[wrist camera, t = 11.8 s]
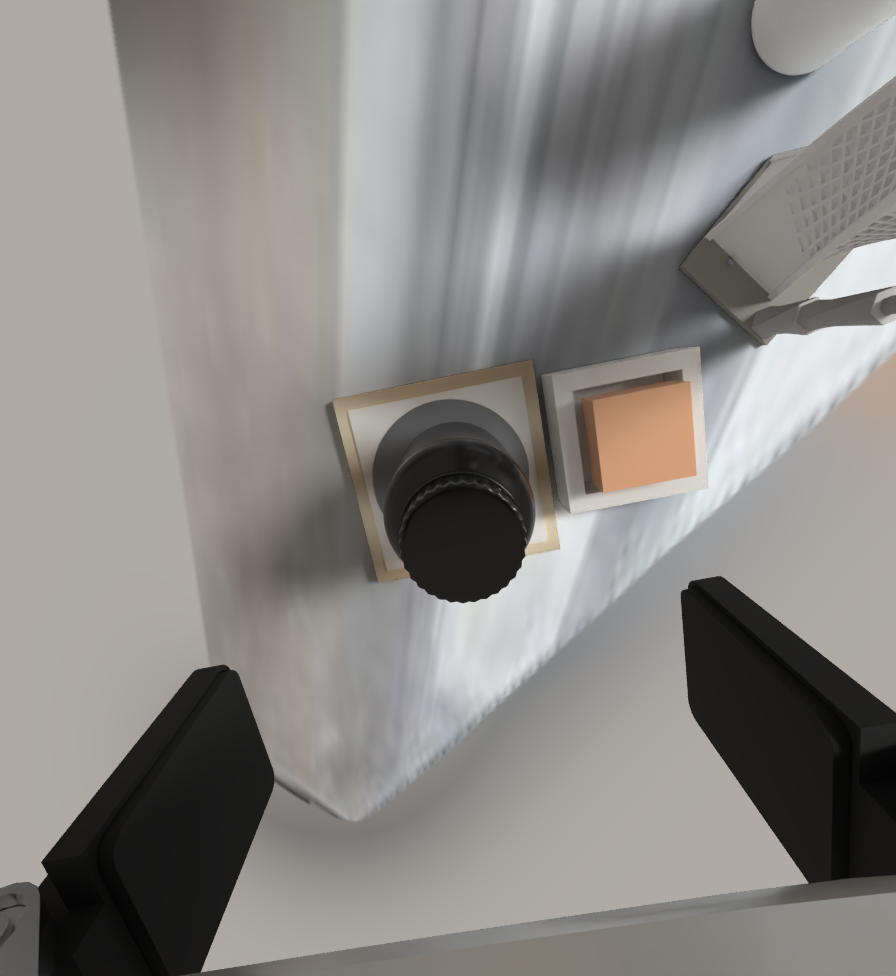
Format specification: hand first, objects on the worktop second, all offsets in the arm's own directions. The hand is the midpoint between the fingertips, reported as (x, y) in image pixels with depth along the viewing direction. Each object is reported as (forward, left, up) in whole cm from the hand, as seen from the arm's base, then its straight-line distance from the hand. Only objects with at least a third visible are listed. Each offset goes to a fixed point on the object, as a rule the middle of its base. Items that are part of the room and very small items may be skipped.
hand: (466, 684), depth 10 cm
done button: (-1, +10, -18) cm, 21 cm away
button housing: (-1, +10, -21) cm, 23 cm away
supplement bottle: (0, 0, -20) cm, 20 cm away
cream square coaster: (0, 0, -21) cm, 21 cm away
